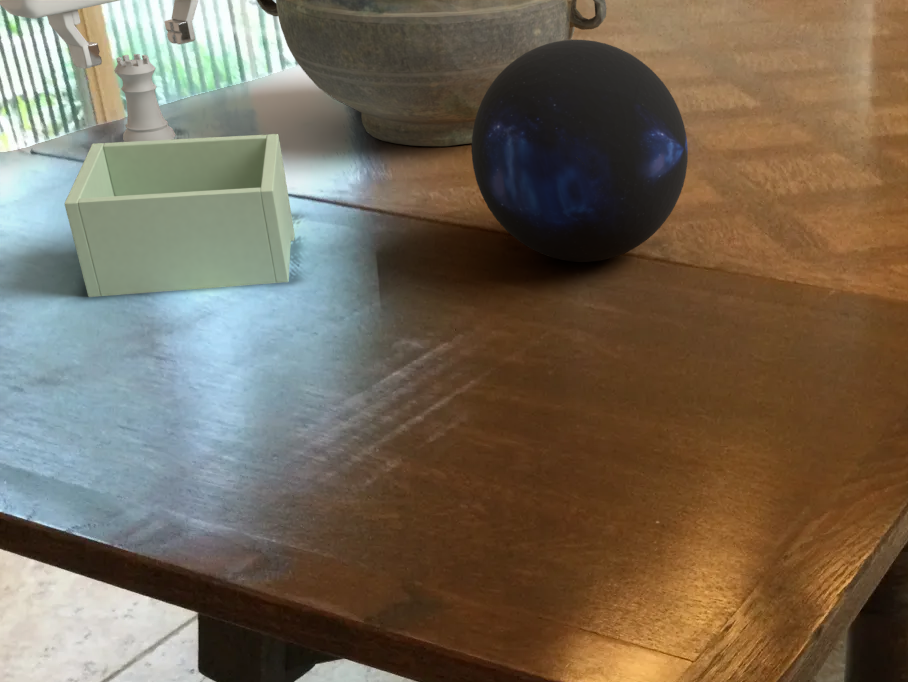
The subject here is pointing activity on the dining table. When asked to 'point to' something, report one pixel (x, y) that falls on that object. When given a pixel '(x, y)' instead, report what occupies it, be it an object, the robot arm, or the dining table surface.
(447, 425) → the dining table surface
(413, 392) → the dining table surface
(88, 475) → the dining table surface
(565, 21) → the bowl
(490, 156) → the decorative sphere
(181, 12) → the robot arm
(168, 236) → the green open box
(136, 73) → the rook chess piece
